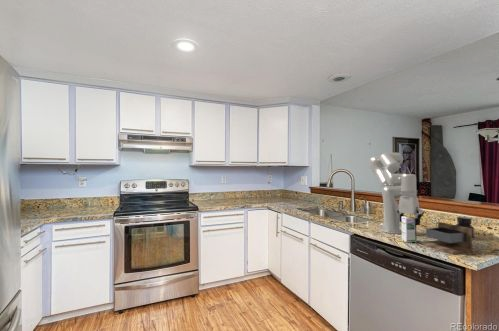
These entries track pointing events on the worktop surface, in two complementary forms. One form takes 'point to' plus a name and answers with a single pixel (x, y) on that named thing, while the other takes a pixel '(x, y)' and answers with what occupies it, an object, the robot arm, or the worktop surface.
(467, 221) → the ink bottle
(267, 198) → the worktop surface
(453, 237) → the open storage bin
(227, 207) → the worktop surface
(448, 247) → the bracket board
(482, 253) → the worktop surface
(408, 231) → the syrup box
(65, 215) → the worktop surface
